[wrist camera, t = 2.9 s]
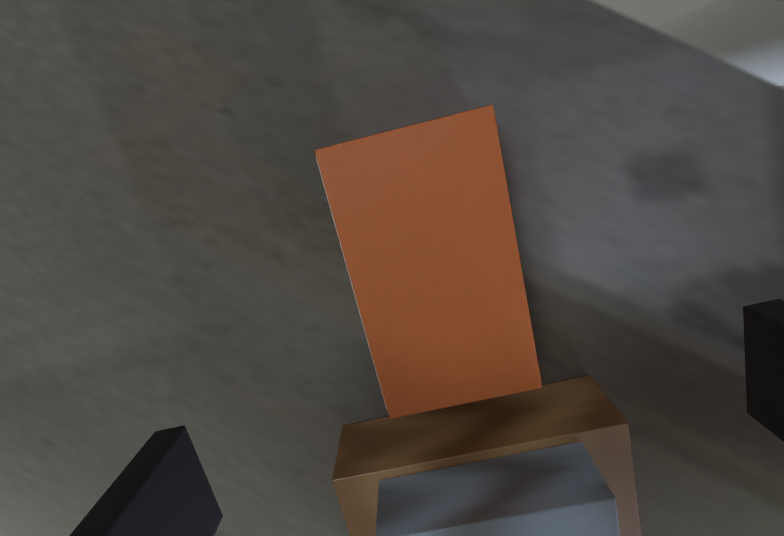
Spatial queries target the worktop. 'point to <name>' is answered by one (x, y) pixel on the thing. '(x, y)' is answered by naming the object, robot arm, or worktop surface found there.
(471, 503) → the box stack
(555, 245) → the worktop surface
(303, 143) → the worktop surface
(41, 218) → the worktop surface
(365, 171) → the book
